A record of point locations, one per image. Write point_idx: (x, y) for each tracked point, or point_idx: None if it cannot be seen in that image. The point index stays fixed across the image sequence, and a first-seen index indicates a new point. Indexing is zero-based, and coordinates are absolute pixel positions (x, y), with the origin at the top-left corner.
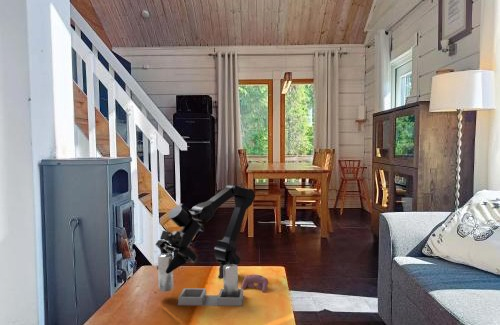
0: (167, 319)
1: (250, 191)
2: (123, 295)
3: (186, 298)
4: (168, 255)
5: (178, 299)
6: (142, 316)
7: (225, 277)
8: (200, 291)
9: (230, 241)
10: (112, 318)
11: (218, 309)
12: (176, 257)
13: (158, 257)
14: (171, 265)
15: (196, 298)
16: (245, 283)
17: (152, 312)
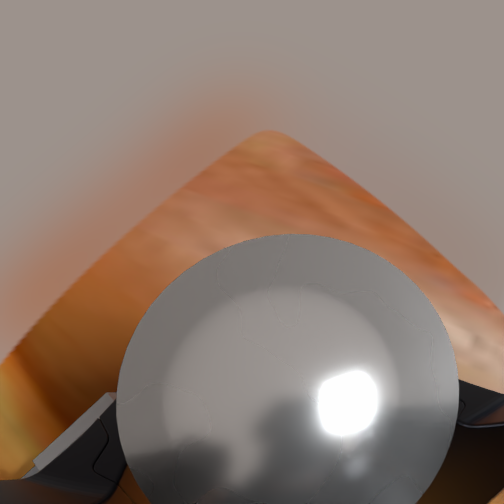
0: (73, 293)
1: None
2: (419, 261)
3: (79, 419)
4: (230, 466)
5: (109, 392)
6: (169, 235)
7: None
8: None
9: None
10: (238, 159)
11: (18, 477)
12: (13, 484)
13: (305, 242)
14: (111, 410)
15: (48, 448)
16: None
17: (170, 281)
